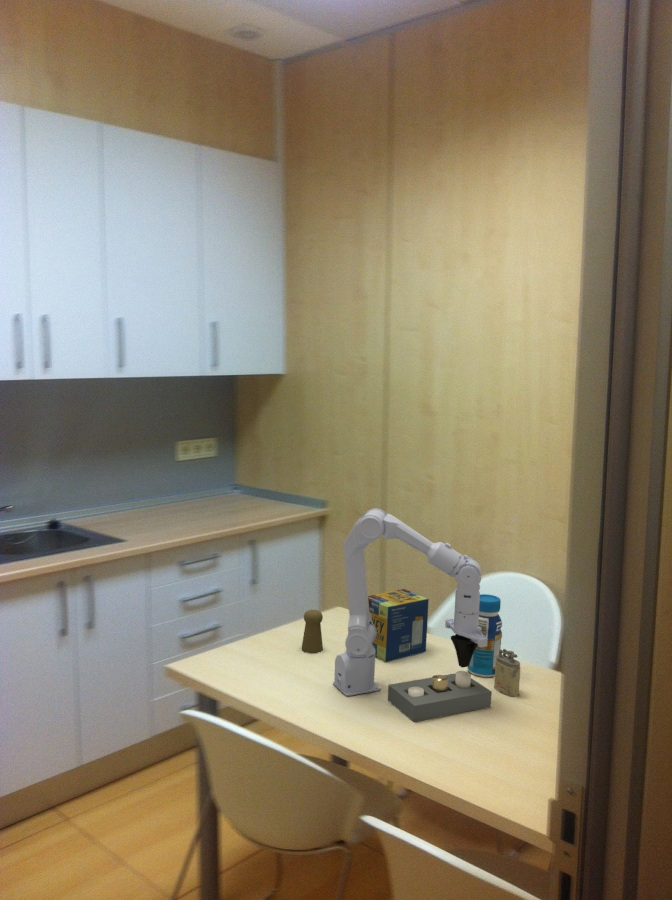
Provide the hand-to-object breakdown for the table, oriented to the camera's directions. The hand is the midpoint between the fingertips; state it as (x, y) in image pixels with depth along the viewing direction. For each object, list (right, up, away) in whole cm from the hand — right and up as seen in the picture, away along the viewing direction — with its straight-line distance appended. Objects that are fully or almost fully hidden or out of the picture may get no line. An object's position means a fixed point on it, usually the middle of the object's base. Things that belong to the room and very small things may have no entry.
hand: (463, 666), depth 181 cm
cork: (-37, -4, +30) cm, 48 cm away
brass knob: (-6, -6, -2) cm, 9 cm away
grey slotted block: (-6, -8, -2) cm, 11 cm away
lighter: (+11, -8, +6) cm, 16 cm away
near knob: (-12, -8, -5) cm, 15 cm away
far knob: (0, -6, +1) cm, 6 cm away
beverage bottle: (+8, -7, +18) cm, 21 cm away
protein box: (-14, -5, +31) cm, 34 cm away
